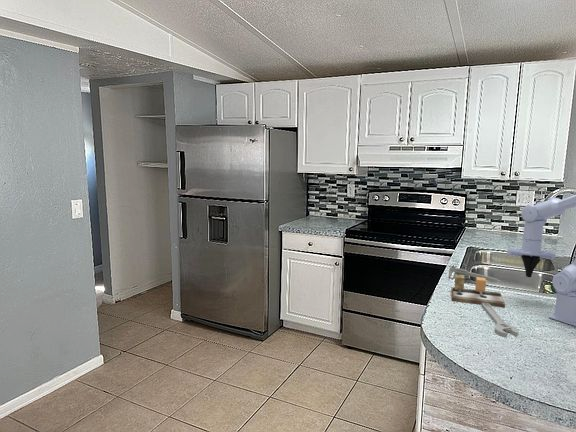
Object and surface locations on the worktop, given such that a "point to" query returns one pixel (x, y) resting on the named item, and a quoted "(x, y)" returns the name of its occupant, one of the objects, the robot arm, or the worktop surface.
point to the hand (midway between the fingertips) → (528, 276)
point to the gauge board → (474, 294)
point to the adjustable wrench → (499, 322)
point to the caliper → (469, 274)
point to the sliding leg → (480, 285)
